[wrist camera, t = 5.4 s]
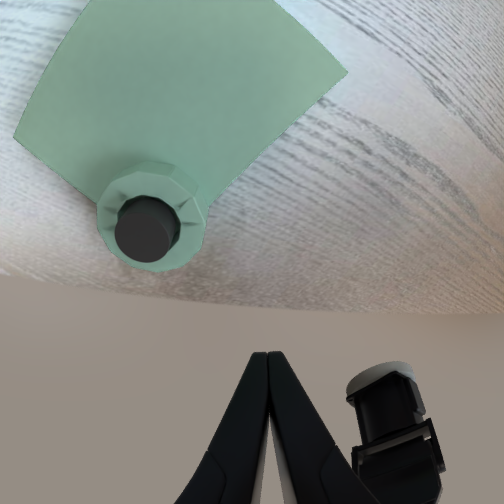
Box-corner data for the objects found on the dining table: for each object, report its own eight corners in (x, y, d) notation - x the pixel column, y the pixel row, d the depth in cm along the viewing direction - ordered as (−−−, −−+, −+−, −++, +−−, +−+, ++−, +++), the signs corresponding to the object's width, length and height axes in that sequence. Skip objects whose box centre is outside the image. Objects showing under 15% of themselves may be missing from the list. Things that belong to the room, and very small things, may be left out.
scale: (172, 257, 20) (162, 288, 18) (20, 141, 15) (-8, 158, 13) (352, 83, 14) (372, 89, 12) (166, -66, 9) (151, -86, 7)
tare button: (156, 254, 17) (149, 272, 16) (114, 224, 16) (104, 240, 14) (187, 220, 16) (181, 237, 14) (142, 187, 15) (132, 201, 13)
